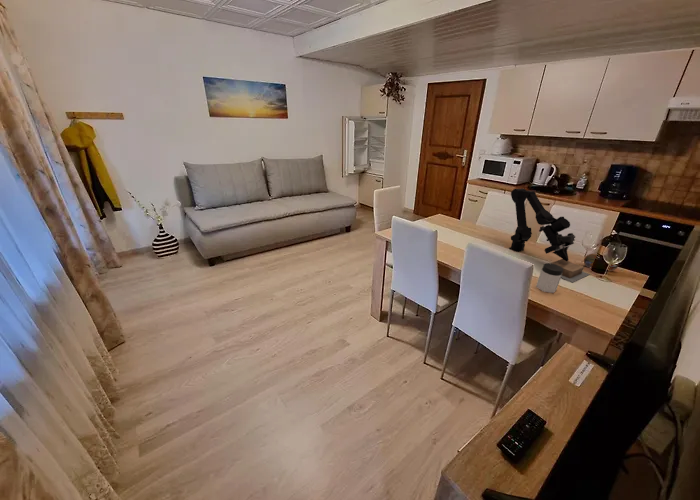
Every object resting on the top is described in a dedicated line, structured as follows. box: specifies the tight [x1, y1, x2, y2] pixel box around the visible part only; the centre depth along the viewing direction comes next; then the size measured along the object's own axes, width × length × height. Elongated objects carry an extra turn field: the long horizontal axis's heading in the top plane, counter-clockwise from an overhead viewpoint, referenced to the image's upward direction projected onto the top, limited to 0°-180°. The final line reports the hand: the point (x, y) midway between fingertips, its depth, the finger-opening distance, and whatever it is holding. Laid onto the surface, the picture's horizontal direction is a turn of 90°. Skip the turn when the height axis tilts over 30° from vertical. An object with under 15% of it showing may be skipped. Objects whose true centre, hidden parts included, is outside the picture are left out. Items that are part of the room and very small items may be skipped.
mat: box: [561, 270, 591, 284], centre depth 160 cm, size 13×18×1 cm
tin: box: [583, 253, 620, 272], centre depth 165 cm, size 15×3×8 cm, turn 62°
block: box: [551, 258, 585, 278], centre depth 161 cm, size 4×12×11 cm
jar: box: [535, 262, 563, 294], centre depth 143 cm, size 9×8×12 cm
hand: (567, 260), depth 159 cm, fingers closed
